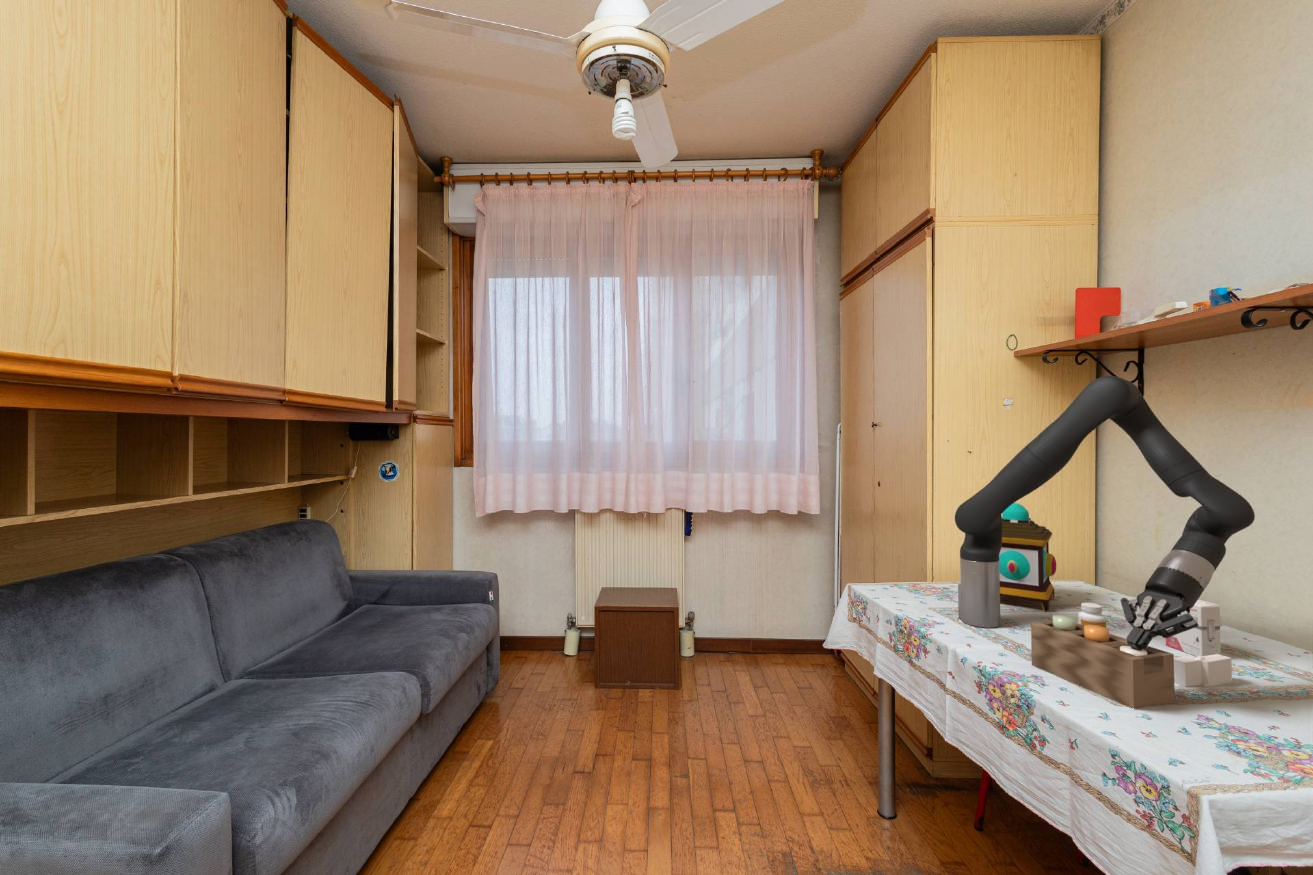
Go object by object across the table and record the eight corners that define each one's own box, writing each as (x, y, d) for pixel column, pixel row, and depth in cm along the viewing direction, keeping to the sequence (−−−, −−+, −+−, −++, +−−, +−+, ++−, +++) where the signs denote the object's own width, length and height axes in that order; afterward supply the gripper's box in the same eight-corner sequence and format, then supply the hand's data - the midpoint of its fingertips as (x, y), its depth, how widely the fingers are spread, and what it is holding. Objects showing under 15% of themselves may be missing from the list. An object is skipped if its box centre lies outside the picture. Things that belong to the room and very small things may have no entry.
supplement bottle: (1112, 650, 131) (1111, 608, 131) (1086, 648, 132) (1085, 607, 132) (1098, 642, 136) (1098, 602, 136) (1073, 640, 137) (1073, 601, 137)
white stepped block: (1230, 678, 116) (1229, 650, 116) (1264, 701, 106) (1263, 671, 106) (1139, 667, 122) (1139, 641, 122) (1163, 689, 111) (1162, 660, 111)
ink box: (1164, 645, 134) (1162, 595, 134) (1182, 644, 134) (1181, 594, 134) (1202, 658, 125) (1201, 605, 125) (1222, 657, 125) (1221, 605, 125)
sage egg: (1048, 629, 122) (1048, 615, 122) (1062, 627, 123) (1062, 614, 123) (1065, 635, 118) (1065, 621, 118) (1080, 633, 119) (1080, 619, 119)
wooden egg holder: (1031, 664, 123) (1030, 623, 123) (1067, 660, 125) (1067, 619, 125) (1133, 708, 102) (1132, 659, 103) (1174, 702, 105) (1173, 654, 105)
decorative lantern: (973, 602, 170) (971, 503, 171) (986, 588, 186) (984, 498, 186) (1053, 614, 157) (1051, 508, 158) (1060, 599, 173) (1058, 501, 173)
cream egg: (1114, 662, 109) (1114, 646, 109) (1130, 660, 110) (1130, 644, 110) (1136, 670, 105) (1136, 654, 105) (1153, 668, 106) (1152, 652, 106)
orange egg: (1079, 640, 115) (1079, 625, 115) (1094, 638, 116) (1094, 623, 116) (1099, 647, 111) (1098, 632, 112) (1114, 645, 112) (1114, 630, 112)
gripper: (1133, 559, 116) (1088, 623, 113) (1210, 573, 103) (1161, 646, 100) (1153, 583, 117) (1109, 647, 114) (1231, 600, 104) (1183, 673, 101)
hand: (1133, 646), depth 107 cm, fingers closed
